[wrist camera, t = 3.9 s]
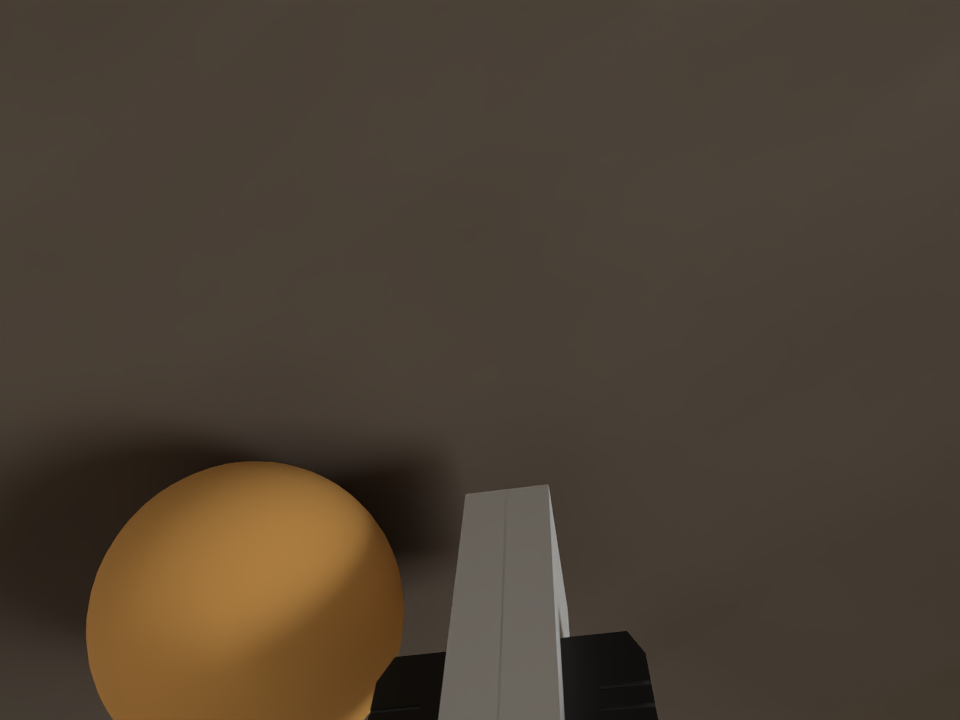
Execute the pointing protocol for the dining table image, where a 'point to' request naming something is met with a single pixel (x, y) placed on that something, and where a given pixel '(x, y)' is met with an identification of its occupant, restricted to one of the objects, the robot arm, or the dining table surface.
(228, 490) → the ball
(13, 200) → the dining table surface
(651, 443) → the dining table surface
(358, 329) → the dining table surface
